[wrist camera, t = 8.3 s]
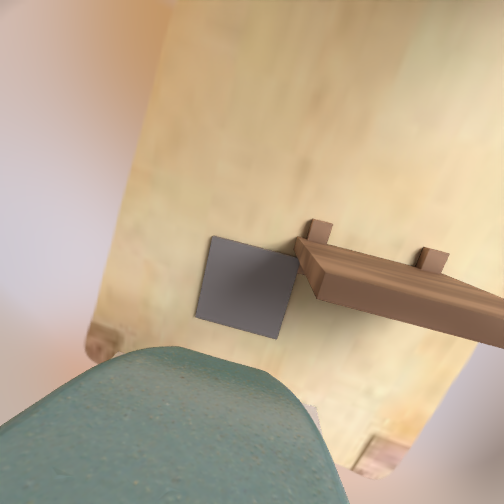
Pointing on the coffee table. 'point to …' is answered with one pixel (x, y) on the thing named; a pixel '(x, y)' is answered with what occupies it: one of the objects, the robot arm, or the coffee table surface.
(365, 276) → the screen
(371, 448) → the coffee table surface
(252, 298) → the mat
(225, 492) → the flower pot
